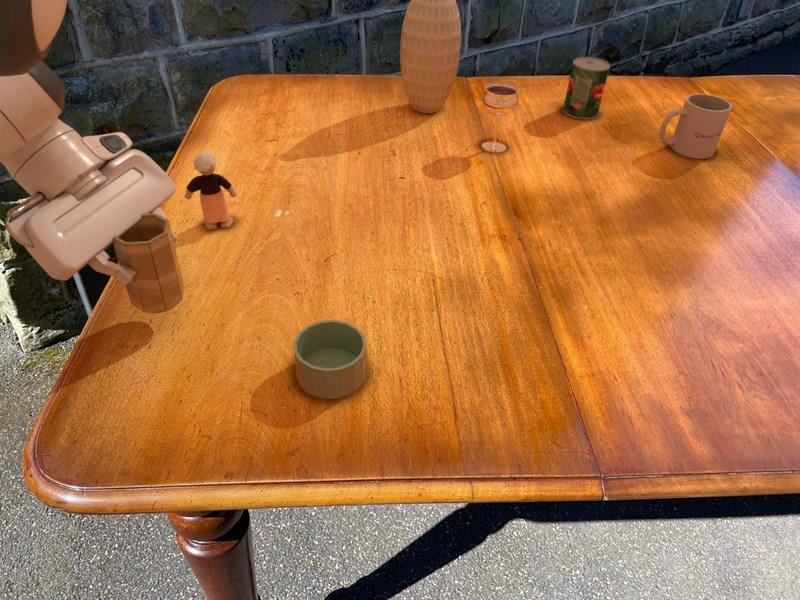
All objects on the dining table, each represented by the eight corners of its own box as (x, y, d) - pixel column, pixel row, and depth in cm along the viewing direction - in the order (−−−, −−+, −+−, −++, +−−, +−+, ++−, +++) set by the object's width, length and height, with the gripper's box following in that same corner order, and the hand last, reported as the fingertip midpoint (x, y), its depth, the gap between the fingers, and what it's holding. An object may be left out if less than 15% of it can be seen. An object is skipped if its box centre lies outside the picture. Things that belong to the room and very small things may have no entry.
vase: (428, 125, 135) (439, -19, 117) (386, 106, 141) (389, -33, 123) (466, 109, 142) (481, -29, 124) (424, 92, 149) (432, -42, 130)
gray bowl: (335, 410, 75) (334, 381, 71) (281, 377, 78) (278, 348, 75) (379, 368, 80) (380, 339, 77) (326, 339, 84) (325, 310, 80)
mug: (707, 141, 134) (725, 95, 128) (718, 160, 128) (737, 113, 121) (648, 136, 135) (663, 90, 129) (657, 155, 129) (672, 107, 122)
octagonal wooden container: (155, 321, 79) (134, 250, 72) (122, 301, 82) (100, 230, 75) (194, 295, 84) (179, 225, 76) (162, 277, 86) (145, 207, 79)
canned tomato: (601, 120, 140) (613, 71, 133) (565, 118, 140) (576, 68, 133) (594, 105, 147) (606, 57, 139) (560, 103, 147) (570, 55, 139)
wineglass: (495, 157, 125) (504, 98, 117) (470, 145, 129) (477, 87, 121) (517, 148, 128) (527, 90, 121) (492, 136, 132) (500, 79, 124)
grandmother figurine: (236, 213, 106) (226, 143, 98) (242, 225, 103) (231, 154, 95) (189, 223, 103) (174, 151, 95) (193, 235, 100) (179, 163, 92)
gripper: (3, 205, 65) (106, 302, 69) (132, 127, 80) (211, 210, 84) (-14, 232, 69) (84, 321, 73) (112, 152, 84) (188, 230, 88)
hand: (153, 261), depth 79 cm, fingers closed on octagonal wooden container, 7 cm apart
